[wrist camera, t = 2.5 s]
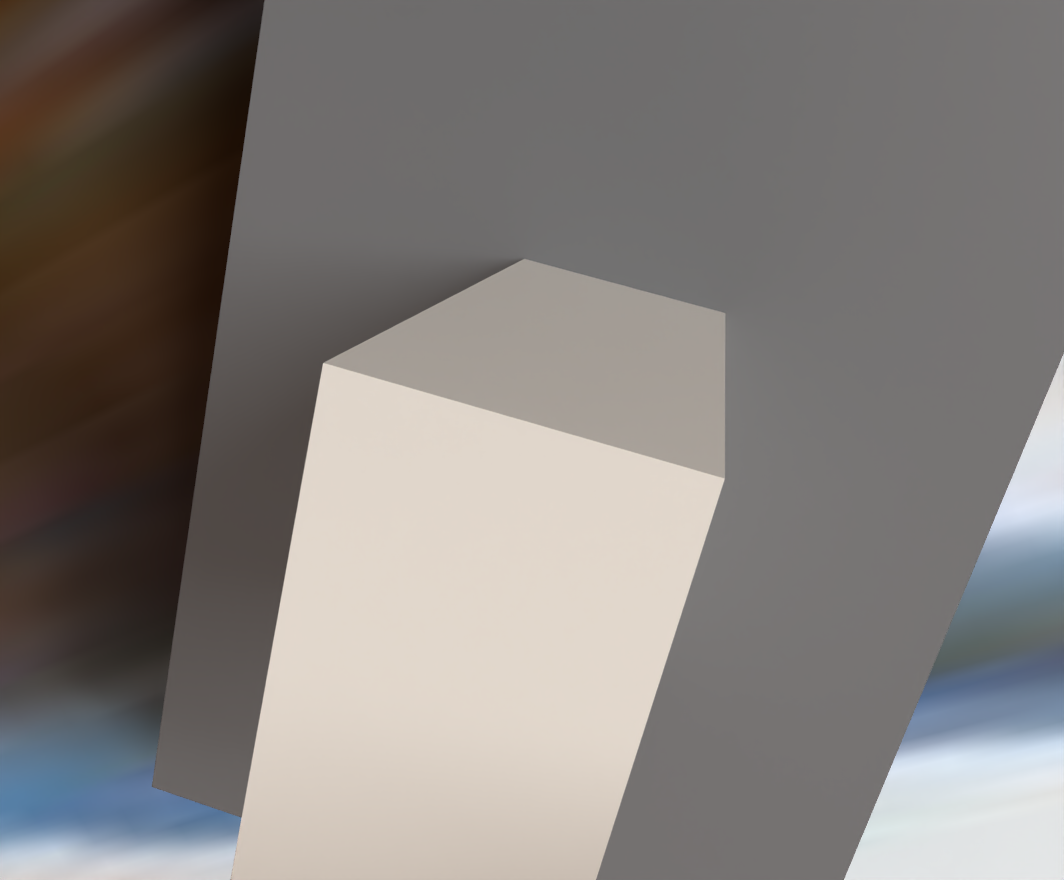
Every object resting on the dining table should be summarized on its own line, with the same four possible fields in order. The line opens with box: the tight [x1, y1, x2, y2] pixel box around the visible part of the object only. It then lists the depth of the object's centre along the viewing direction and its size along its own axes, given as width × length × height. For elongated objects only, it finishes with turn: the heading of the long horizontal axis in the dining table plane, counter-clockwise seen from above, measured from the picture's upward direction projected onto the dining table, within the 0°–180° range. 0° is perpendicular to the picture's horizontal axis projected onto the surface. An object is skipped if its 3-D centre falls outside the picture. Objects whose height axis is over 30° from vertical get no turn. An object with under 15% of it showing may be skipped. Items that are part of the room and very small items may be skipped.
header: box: [152, 0, 1064, 880], centre depth 20 cm, size 20×14×4 cm
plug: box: [231, 259, 725, 880], centre depth 15 cm, size 6×4×13 cm, turn 166°
